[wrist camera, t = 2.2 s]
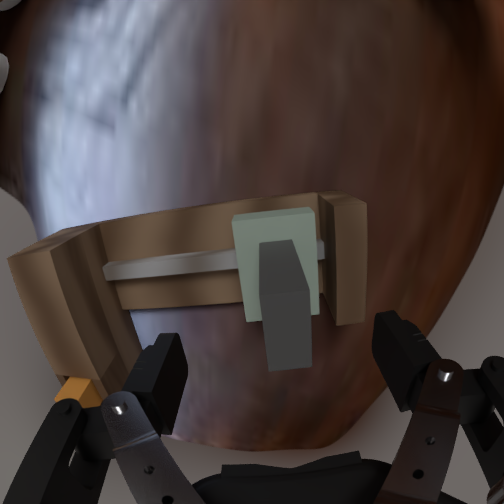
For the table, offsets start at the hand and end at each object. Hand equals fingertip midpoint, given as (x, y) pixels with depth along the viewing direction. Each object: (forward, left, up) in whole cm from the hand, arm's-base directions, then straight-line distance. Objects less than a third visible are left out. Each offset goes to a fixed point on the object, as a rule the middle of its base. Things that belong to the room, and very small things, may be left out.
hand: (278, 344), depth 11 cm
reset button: (+16, +8, -7) cm, 19 cm away
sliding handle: (0, 0, -12) cm, 12 cm away
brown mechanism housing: (+6, +4, -13) cm, 15 cm away
